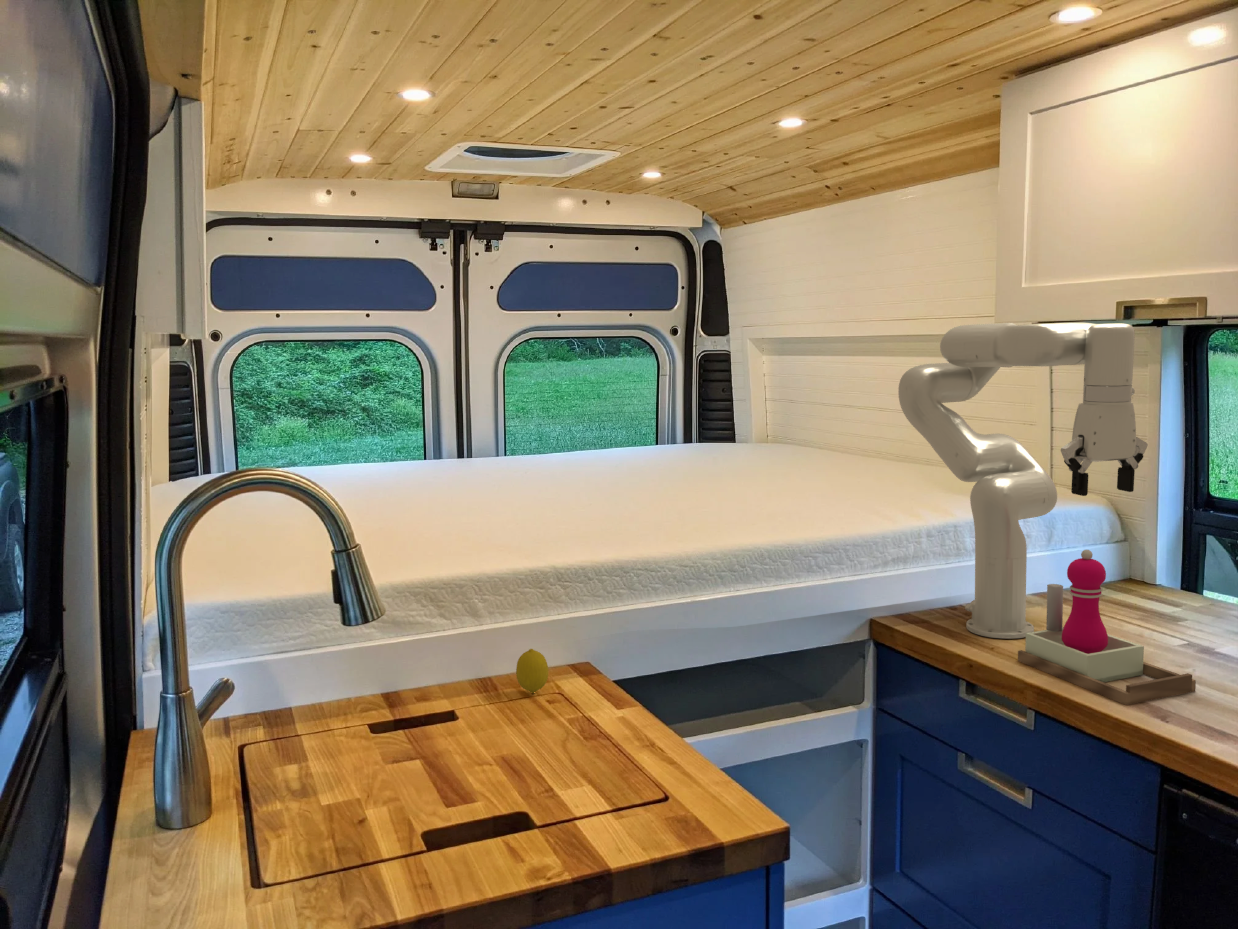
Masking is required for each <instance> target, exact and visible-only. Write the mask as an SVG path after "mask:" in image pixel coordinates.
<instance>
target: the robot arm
mask: <svg viewBox="0 0 1238 929" xmlns="http://www.w3.org/2000/svg"><path fill="white" fill-rule="evenodd" d="M1135 335H1136V334H1135V328H1134V327H1133V325H1131V324H1128V323H1121V322H1120V323H1115V322H1114V323H1113V322H1112V323H1093V322H1092V323H1091V322H1054V323H1053V322H1052V323H1036V324H1033V323H1032V324H1015V323H1014V322H1002V323H1000V322H999V323H997V322H996V323H981V324H980V323H979V324H978V323H977V324H976V323H975V324H963V325H957V326H954V327H952V328H950V329H949V330H948V331H947V332H945V333H944V335H942V336H943V337H942V338H941V340H940V344H939V348H940V353H941V355H942V357H943V359H944V360H945V361H946V362H941V363H940V362H938V363H937V362H936V363H935V362H934V363H925V364H920V365H917V366H916V365H915V366H914V367H911V368H909V369H907V371H905V372H904V373H903V374H902V375H901V377H900V379H899V383H898V388H897V389H898V400H899V405H900V408H901V410H902V413H903V415H904V416H905V418H906V420H907V421H908V422H909V423H910V425H911V426H912V427H913V428H914V429H915V430H916V431H917V432H918V433H919V434H920V435H921V436H922V437H923V438H924V439H925V440H926V441H927V442H928V444H929V445H930V447H931V448H932V449H933V450H934V452H935V453H936V454H937V455H938V457H939V458H940V459H941V460H942V462H944V464H945V466H946V467H947V468H948V469H949V470H950V471H951V473H952V474H953V475H954V476H955V477H956V478H957V479H958V480H960V481H962V482H964V483H974V485H973V486H972V489H971V491H970V496H969V500H970V502H969V503H970V509H971V512H972V520H973V526H974V541H975V542H974V554H975V555H974V599H973V600H972V601H971V602H970V603H967V604H966V605H965V607H964V610H966V611H968V612H971V618H970V619H968V620H967V621H966V622H965V623H966V630H968V631H969V632H971V633H973V634H975V635H978V636H981V637H986V638H991V639H1007V640H1011V639H1013V640H1014V639H1023V638H1024V639H1025V638H1026V633H1030V632H1035V627H1034V625H1033V624H1032V623H1031V622H1029V621H1027V619H1026V618H1027V617H1026V614H1027V613H1026V612H1027V610H1026V609H1027V560H1028V556H1027V554H1028V553H1027V550H1028V549H1027V547H1028V546H1027V540H1026V537H1025V534H1024V532H1023V529H1022V528H1021V525H1020V523H1019V521H1021V520H1026V519H1027V520H1028V519H1031V518H1032V519H1034V518H1039V517H1043V516H1045V515H1047V514H1049V513H1050V512H1051V511H1052V510H1053V509H1054V508H1055V507H1056V505H1057V500H1058V492H1057V487H1056V484H1055V482H1054V481H1053V479H1052V477H1051V476H1050V475H1049V473H1048V472H1047V471H1046V470H1045V469H1044V468H1043V467H1042V465H1041V464H1040V463H1039V462H1038V461H1037V460H1036V459H1035V458H1034V457H1033V455H1032V454H1031V453H1030V451H1028V449H1027V448H1026V447H1025V446H1024V445H1023V444H1022V443H1021V442H1020V441H1018V440H1017V439H1016V438H1015V437H1013V436H1011V435H1008V434H1005V433H990V434H989V433H988V434H982V433H978V432H977V431H975V430H974V429H973V428H972V427H971V426H970V425H969V423H967V421H966V420H965V419H964V418H963V417H962V416H961V415H960V414H959V413H957V412H956V411H955V410H953V409H951V408H949V407H947V406H946V405H945V404H946V403H947V404H948V403H959V402H966V401H968V400H971V399H972V398H974V397H976V395H978V394H979V392H981V391H982V389H983V388H984V387H985V386H986V385H987V384H988V382H989V381H990V380H991V378H993V376H995V374H996V373H997V372H998V371H999V370H1000V369H1001V368H1012V367H1057V366H1077V365H1079V366H1080V365H1084V368H1083V389H1082V390H1083V393H1082V395H1083V396H1082V403H1078V406H1077V408H1076V413H1075V415H1074V416H1075V417H1074V421H1073V427H1072V434H1071V435H1072V437H1071V441H1069V442H1068V443H1067V444H1066V443H1065V445H1064V446H1062V447H1061V448H1060V453H1061V455H1062V458H1063V462H1064V464H1065V465H1066V466H1067V467H1068V470H1069V471H1070V472H1071V493H1072V495H1077V496H1082V497H1086V496H1087V495H1088V494H1089V493H1088V491H1089V473H1088V472H1086V471H1087V470H1088V469H1089V467H1090V465H1092V463H1093V462H1094V463H1097V462H1108V461H1109V462H1111V461H1112V462H1113V461H1117V462H1118V463H1119V465H1120V466H1119V467H1117V468H1118V469H1117V476H1116V477H1117V480H1116V481H1117V482H1116V489H1117V490H1119V491H1124V492H1128V493H1133V492H1134V488H1135V473H1136V472H1135V470H1137V469H1138V468H1139V464H1140V462H1141V461H1142V460H1143V459H1144V454H1145V452H1146V450H1147V448H1148V445H1149V444H1148V443H1147V442H1146V441H1145V440H1143V439H1141V438H1139V437H1138V436H1137V426H1136V425H1137V422H1136V413H1135V407H1134V403H1133V402H1132V396H1133V395H1134V394H1135V388H1134V387H1133V376H1134V375H1133V374H1134V360H1135V359H1134V358H1135V355H1134V354H1135Z"/></svg>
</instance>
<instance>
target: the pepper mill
mask: <svg viewBox="0 0 1238 929" xmlns="http://www.w3.org/2000/svg"><path fill="white" fill-rule="evenodd" d="M1080 556H1081V558H1076V559H1074V560H1072V561H1071V562H1070V563H1069V565H1068V567H1067V570H1066V575H1067V576H1066V577H1067V579H1068V580H1069V582H1070V583H1071V584H1070V586H1069V589H1070V590H1069V594H1070V595H1071V598H1072V603H1071V604H1072V605H1071V611H1070V613H1069V615H1068V618H1067V620H1066V622H1065V624H1064V626H1063V627H1064V628H1063V631H1062V641H1063V643H1064V644H1065V646H1067V647H1070V648H1073V649H1075V650H1078V651H1081V652H1084V653H1086V654H1090V653H1096V652H1101V651H1102V650H1104V649H1105V648H1106V647H1107V645H1108V635H1107V634H1108V632H1107V629H1106V627H1105V624H1104V622H1103V620H1102V617H1101V614H1100V604H1099V603H1100V597H1102V596H1103V593H1102V592H1103V588H1102V584H1103V583H1105V581H1106V578H1107V573H1106V569H1105V566H1104V565H1103V564H1102V563H1101V562H1100V561H1098V560H1097V559H1095V558H1093V551H1091V550H1089V549H1084V550H1082V551H1081V553H1080Z"/></svg>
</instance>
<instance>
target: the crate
mask: <svg viewBox="0 0 1238 929" xmlns="http://www.w3.org/2000/svg"><path fill="white" fill-rule="evenodd" d="M1063 611H1064V585H1063V584H1060V583H1059V584H1057V583H1049V584H1047V587H1046V628H1045V629H1043V630H1039V631H1038V630H1037V631H1034V632H1030V633H1026V637H1025V650H1024V651H1025V652H1027V653H1030V654H1033V655H1035V656H1038V657H1040V658H1043V659H1045V660H1048V661H1050V662H1053V663H1055V664H1058V665H1061V666H1063V667H1066V668H1068V669H1071V670H1073V671H1076V672H1078V673H1081V674H1083V675H1086V676H1088V677H1091V678H1094V679H1096V680H1099V681H1101V682H1104V683H1107V682H1113V681H1118V680H1123V679H1130V678H1133V677H1140V676H1144V674H1143V662H1144V658H1145V657H1144V651H1145V649H1144V648H1145V646H1144V645H1142V644H1139V643H1135V642H1133V641H1130V640H1126V639H1123V638H1120V637H1117V636H1114V635H1112V634H1108V633H1107V635H1108V645H1107V647H1106V648H1105V649H1104V650H1102V651H1101V652H1096V653H1090V654H1086V653H1084V652H1081V651H1078V650H1075V649H1073V648H1070V647H1067V646H1065V644H1064V643H1063V641H1062V631H1063V628H1064V626H1063V615H1064V614H1063V613H1064V612H1063Z"/></svg>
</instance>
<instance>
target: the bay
mask: <svg viewBox="0 0 1238 929" xmlns="http://www.w3.org/2000/svg"><path fill="white" fill-rule="evenodd" d="M1017 661H1018V662H1020V663H1023V664H1024V665H1027V666H1029V667H1032V668H1034V669H1037V670H1039V671H1042V672H1044V673H1046V674H1048V675H1051V676H1054V677H1057V678H1058V679H1061V680H1064V681H1066V682H1069V683H1071V684H1074V685H1076V686H1078V687H1081V688H1084V689H1085V690H1088V691H1091V692H1093V693H1095V694H1098V695H1100V696H1103V697H1105V698H1107V699H1110V700H1112V701H1115V702H1117V703H1120V704H1121V705H1125V706H1129V705H1132V704H1138V703H1143V702H1149V701H1154V700H1159V699H1164V698H1168V697H1174V696H1178V695H1183V694H1188V693H1194V692H1196V688H1197V684H1196V682H1197V680H1196V679H1194V678H1193V674H1191V673H1182V674H1179V673H1176V672H1173V671H1171V670H1168V669H1166V668H1162V667H1160V666H1157V665H1155V664H1151V663H1148V662H1146V661H1143V676H1144V675H1145V676H1147V677H1150V678H1152V679H1151V680H1146V681H1141V682H1136V683H1130V684H1126V686H1125V690H1124V689H1121V688H1120V687H1119V688H1118V687H1116V686H1115V685H1114V686H1113V685H1112V684H1110V683H1109V684H1108V683H1107V682H1101V681H1099V680H1096V679H1094V678H1091V677H1088V676H1086V675H1083V674H1081V673H1078V672H1076V671H1073V670H1071V669H1068V668H1066V667H1063V666H1061V665H1058V664H1055V663H1053V662H1050V661H1048V660H1045V659H1043V658H1040V657H1038V656H1035V655H1033V654H1030V653H1027V652H1025V650H1021V649H1020V650H1017Z"/></svg>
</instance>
